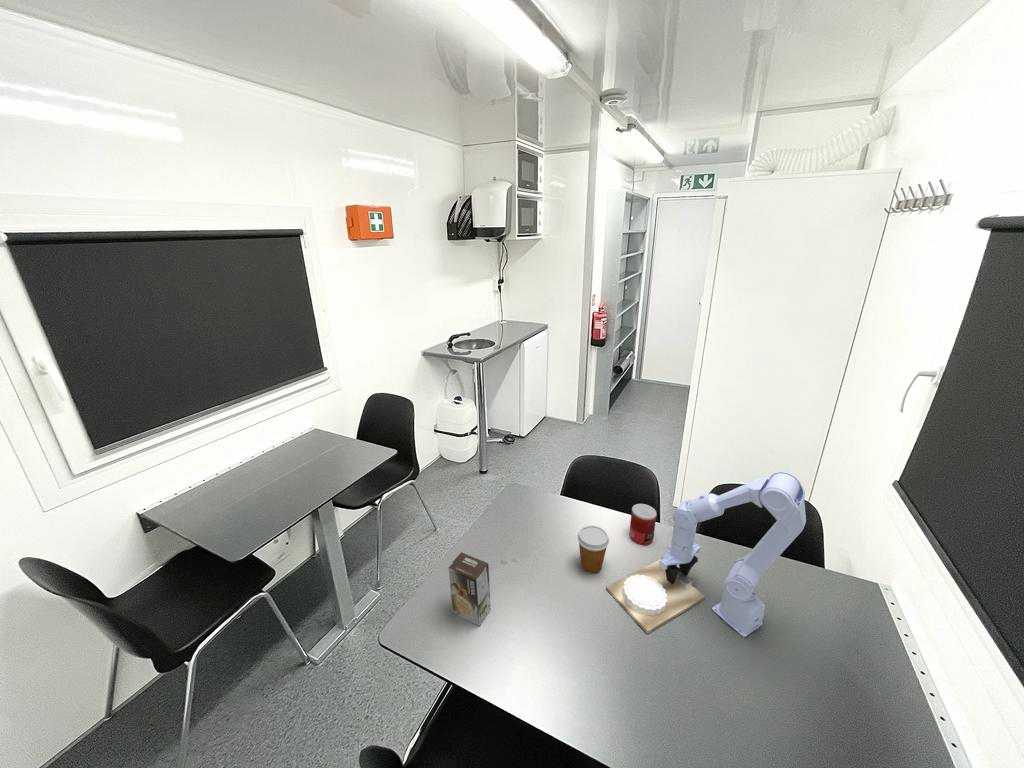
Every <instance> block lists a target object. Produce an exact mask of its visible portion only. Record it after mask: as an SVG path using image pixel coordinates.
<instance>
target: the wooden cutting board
mask: <svg viewBox="0 0 1024 768" xmlns="http://www.w3.org/2000/svg"><path fill="white" fill-rule="evenodd" d="M661 559H662V558H659V559H658V560H656V561H654V562H652V563H650V564H648V565H646V566H644V567H642V568H640V569H639V570H636V571H634V572H632V573H630V574H628V575H626V576H625V577H622V578H620V579H618V580H617V581H614V582H612V583H610V584H608V585H606V587H605V590H606V591H607V592H608V593H609V594H610V595H611V597H612V598H613V599H615V600H616V602H617V603H618V604H619V605H620V606H621V607H622V608H623V609H624V611H625V612H626V613H627V614H628V615H629V616H630V617H631V618H632V619H633V620H634V621H635V622H636V623H637V625H638V626H639V627H640V628H641V629H642V630H643V631H644V633H645V634H647V635H649V634H651V632H653V631H655V630H657V629H658V628H660V627H661V626H663V625H665V624H667V623H668V622H670V621H671V620H673V619H674V618H676V617H678V616H679V615H681V614H684V612H686V611H687V610H689V609H691V608H693V607H694V606H696V605H697V604H700V603H701V602H703V601H704V600H705V598H706V596H705V595H703V593H701V592H700V591H699V590H698V589H697V588H695V587H694V586H693V580H691V579H690V578H689V577H688V575H687V576H686V575H684V574H683V573H682V572H681V571H680V572H679V573H678V575H677V577H676V580H675V583H674V584H671V583H670V582H669V581H668V580H667V577H666V572H665V570H664V569H663V568H661V567H660V566H659V564H660V560H661ZM635 575H640V576H641V575H645V576H646V577H651V578H652V579H654V580H656V581H657V582H658V583H660V584H661V585H662V586H663V588H664V589H665V590H666V594H667V596H668V598H667V606H666V607H665V610H664V611H663V612H661V613H660V614H655V615H654V616H652V615H644V614H643V613H642V614H640V613H638V612H637V611H636V610H633V609H631V607H630V606H628V605H627V604H626V601H625V600H624V599H623V594H622V591H623V585H624V582H625V581H626V579H627V578H630V576H635Z"/></svg>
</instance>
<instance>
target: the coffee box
mask: <svg viewBox="0 0 1024 768" xmlns="http://www.w3.org/2000/svg"><path fill="white" fill-rule="evenodd" d="M489 571H490V567H489V563H488V562H486V561H484V560H481V559H479V558H476V557H474V556H471V555H469V554H466V553H463V552H460V553H459V554H458V555H457V556H456V557H455V559H454V560H453V561H452V563H451V564H450V566H448V577H449V578H448V579H449V588H450V596H451V598H450V599H451V608H452V614H453V615H456V616H458V617H460V618H462V619H464V620H466V621H468V622H470V623H472V624H474V625H476V626H478V627H481V625H482V624H483V622H484V621H485V620H486V618H487V617H488V615H489V613H490V612H491V609H492V606H491V605H492V604H491V589H490V574H489V573H490V572H489Z"/></svg>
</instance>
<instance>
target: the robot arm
mask: <svg viewBox="0 0 1024 768" xmlns="http://www.w3.org/2000/svg"><path fill="white" fill-rule="evenodd" d="M805 493H806V491H805V489H804V487H803V485H802V483H801V482H800V480H799V478H798V476H797V477H796V475H794V474H793V473H791V472H787V471H776V472H773V473H772V474H771V475H770V474H767V475H763V476H761V477H759V478H756V479H754V480H752V481H749V482H747V483H745V484H743V485H740V486H738V487H735V488H733V489H732V490H728V491H727V492H725V493H722V494H720V495H718V494H715V493H708V494H707V493H705V492H704V493H701V494H700V496H699V497H698V498H695V499H693V500H691V499H688V500H684V501H683V502H681V503H680V504H679V506H677V508H676V509H675V510H674V511H673V513H672V519H673V523H674V524H673V530H672V535H671V536H672V537H671V543H670V544H668V545H667V549H668V551H667V552H666V553H665V555H664V556H663V557H661V558H660V559H661V560H660V559H659V560H660V564H659V566H660V567H661V568H663V569H664V570H665V572H666V577H667V580H668V581H669V582H670V583H671V584H674V583H675V580H676V577H677V575H678V573H679V572H680V571H681V572H682V573H683V574H684V575H686V576H687V577H688V575H689V574H690V572H691V569H692V568H694V565H695V564H696V563H698V562H699V558H698V557H697V556H696V555H697V554H699V553H701V545H699V544H698V543H696V542H695V539H696V534H697V533H696V532H697V525H698V523H701V522H705V521H708V520H711V519H714V518H717V517H720V516H723V514H724V512H725V510H726V509H729V508H733V507H736V506H740V505H743V504H747V503H750V502H751V503H753V504H754V505H756V506H757V507H759V508H762V509H763V507H764V508H765V509H766V510H767V511H768V512H769V513H770V514H771V515H772V516H773V517H774V519H775V520H776V522H774V523H773V525H771V527H770V528H769V529H768V531H767V532H766V533H765V534H764V536H762V538H761V539H760V540H759V541H758V543H756V544H755V546H754V547H753V548H752V550H750V552H749V553H748V554H746V555H745V556H744V557H741V558H738V559H736V560H735V561H734V563H733V566H732V567H731V569H730V572H729V574H728V575H727V577H726V578H725V579H724V581H723V590H722V593H721V599H720V602H719V603H717V604H716V605H714V606H713V607H711V610H712V611H713V612H714V613H715V614H716V615H717V616H719V618H721V619H723V621H724V622H725V623H726V624H727V625H729V626H730V627H731V628H732V629H733V630H735V631H736V632H737V633H738V634H739V635H741V636H742V637H743V638H747V636H749V635H750V634H751V633H753V632H754V631H756V630H757V629H759V628H760V627H761V626H763V619H764V615H765V612H766V605H765V604H764V603H763V602H762V601H761V600H760V599H759V597H758V596H757V592H756V591H757V589H756V587H757V586H756V585H757V584H758V582H759V580H760V578H761V577H762V575H763V574H765V572H766V571H767V570H768V569H769V568H770V567H771V566H772V564H774V562H775V561H776V560H778V558H779V557H780V556H781V555H782V554H783V553H784V551H785V550H786V549H787V548H788V547H789V546H790V545H791V544H792V543H793V542H794V541H795V539H796V538H797V537H798V536H799V535H800V534H801V533H802V532H803V530H804V528H805V525H806V523H807V515H806V502H805V497H806V495H805ZM696 553H697V554H696ZM678 565H679V566H678Z"/></svg>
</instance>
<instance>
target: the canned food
mask: <svg viewBox="0 0 1024 768" xmlns="http://www.w3.org/2000/svg"><path fill="white" fill-rule="evenodd" d="M656 522H657V510H656V509H655V508H654V507H652V506H651V505H649V504H646V503H645V504H644V503H636V504H634V505H633V506H632V507H631V515H630V524H629V532H628V533H629V537H630V539H631V540H632V541H633V542H634V543H636V544H638V545H641V546H645V545H646V546H648V545H650V544H651V543H653V540H654V536H655V528H656Z"/></svg>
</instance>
